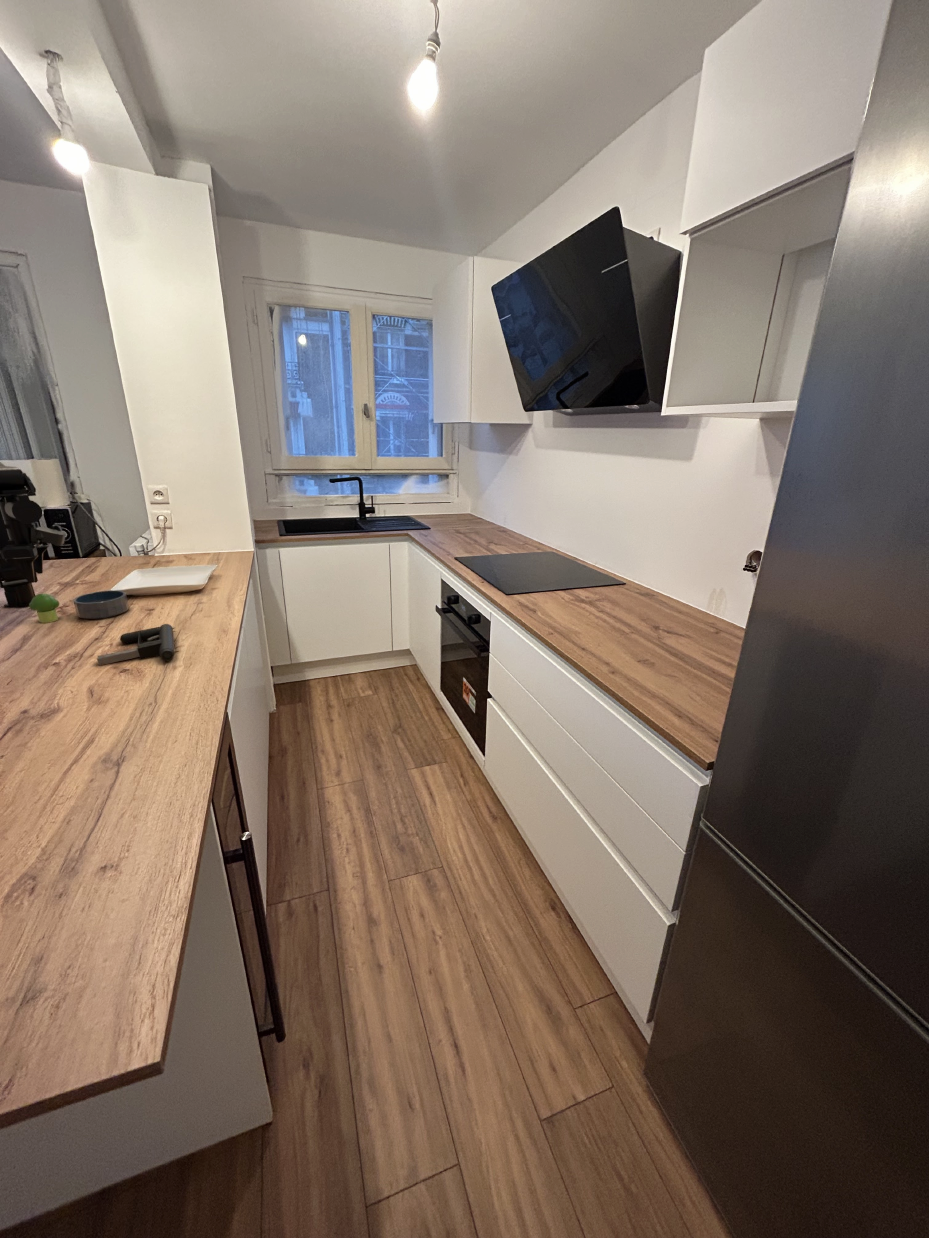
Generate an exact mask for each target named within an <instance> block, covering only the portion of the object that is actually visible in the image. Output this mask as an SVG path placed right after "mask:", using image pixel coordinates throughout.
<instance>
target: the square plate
mask: <svg viewBox="0 0 929 1238" xmlns="http://www.w3.org/2000/svg"><path fill="white" fill-rule="evenodd" d="M217 567H218V564H200V565H199V564H198V565H175V566H174V565H173V566H162V567H150V568H139V569H134V570H132V571H131V572H130V573H129V574H126V576H124V577H123V578H122V579H121V580H119V581H118V582H117V583H116V584H115V585H114V586H112V587H111V588H110V589H109V591H111V590H113V591H123V592H125V593H126V596H137V597H138V596H139V597H141V596H152V595H164V594H178V593H179V594H180V593H189V592H194V591H199V590H202V589H203V588H204V587H205V586H206V584H207V583H208V581H209V579H210V577H211V576H212V574H213V573H214V572H215V571H216V569H217Z"/></svg>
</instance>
